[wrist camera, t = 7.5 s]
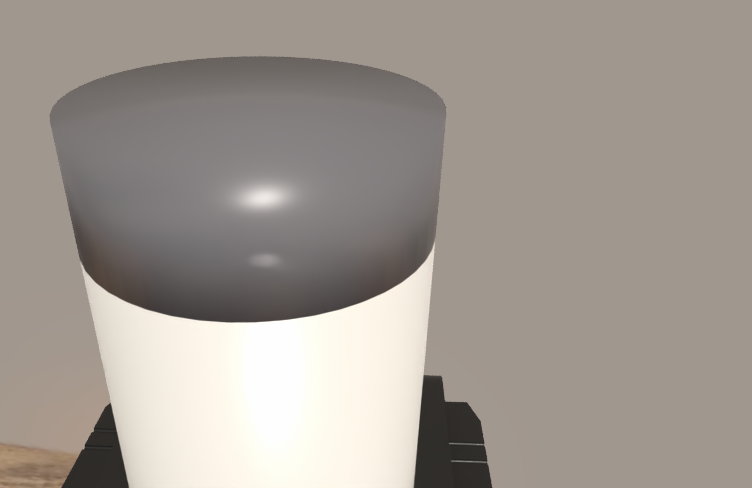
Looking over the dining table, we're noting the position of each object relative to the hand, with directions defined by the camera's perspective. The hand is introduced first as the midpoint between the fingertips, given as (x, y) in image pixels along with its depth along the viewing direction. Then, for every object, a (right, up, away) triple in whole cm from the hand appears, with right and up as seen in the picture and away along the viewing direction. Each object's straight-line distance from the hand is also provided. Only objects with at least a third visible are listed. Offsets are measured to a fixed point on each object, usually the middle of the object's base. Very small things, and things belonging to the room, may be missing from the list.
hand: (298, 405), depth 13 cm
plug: (0, -9, +2) cm, 9 cm away
